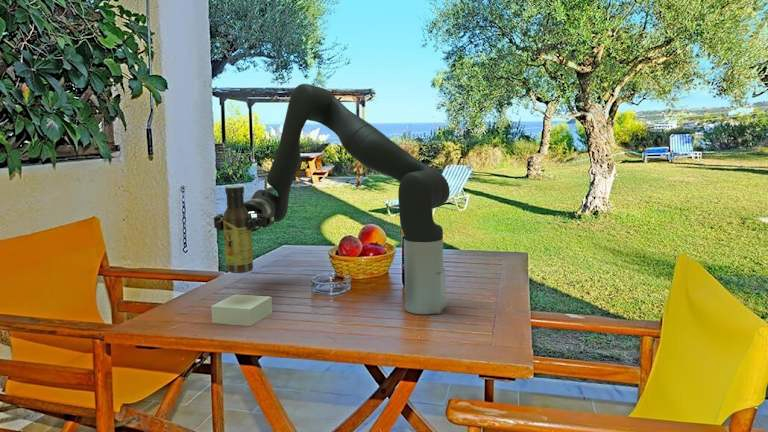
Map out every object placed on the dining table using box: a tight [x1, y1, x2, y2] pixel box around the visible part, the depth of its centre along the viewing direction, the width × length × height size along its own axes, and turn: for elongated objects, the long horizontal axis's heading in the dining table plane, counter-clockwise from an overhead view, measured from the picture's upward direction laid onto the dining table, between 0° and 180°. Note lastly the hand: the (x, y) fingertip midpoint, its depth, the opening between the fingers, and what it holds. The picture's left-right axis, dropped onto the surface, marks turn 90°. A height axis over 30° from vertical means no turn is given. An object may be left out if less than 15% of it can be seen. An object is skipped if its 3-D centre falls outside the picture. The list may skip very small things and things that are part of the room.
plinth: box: [210, 293, 273, 327], centre depth 138 cm, size 10×10×4 cm
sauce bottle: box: [222, 184, 254, 274], centre depth 135 cm, size 6×6×20 cm
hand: (234, 226), depth 132 cm, fingers closed on sauce bottle, 6 cm apart
